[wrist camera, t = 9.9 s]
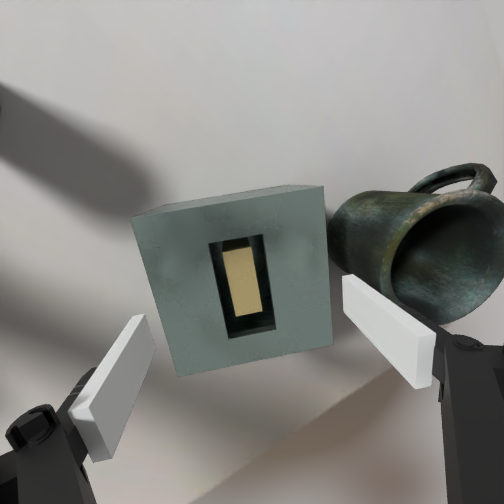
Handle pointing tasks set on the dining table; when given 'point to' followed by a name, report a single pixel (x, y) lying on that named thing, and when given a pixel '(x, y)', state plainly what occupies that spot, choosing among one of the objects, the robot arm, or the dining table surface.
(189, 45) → the dining table surface
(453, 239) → the mug
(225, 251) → the tan rectangular block
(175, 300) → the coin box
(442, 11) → the dining table surface
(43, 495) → the robot arm
